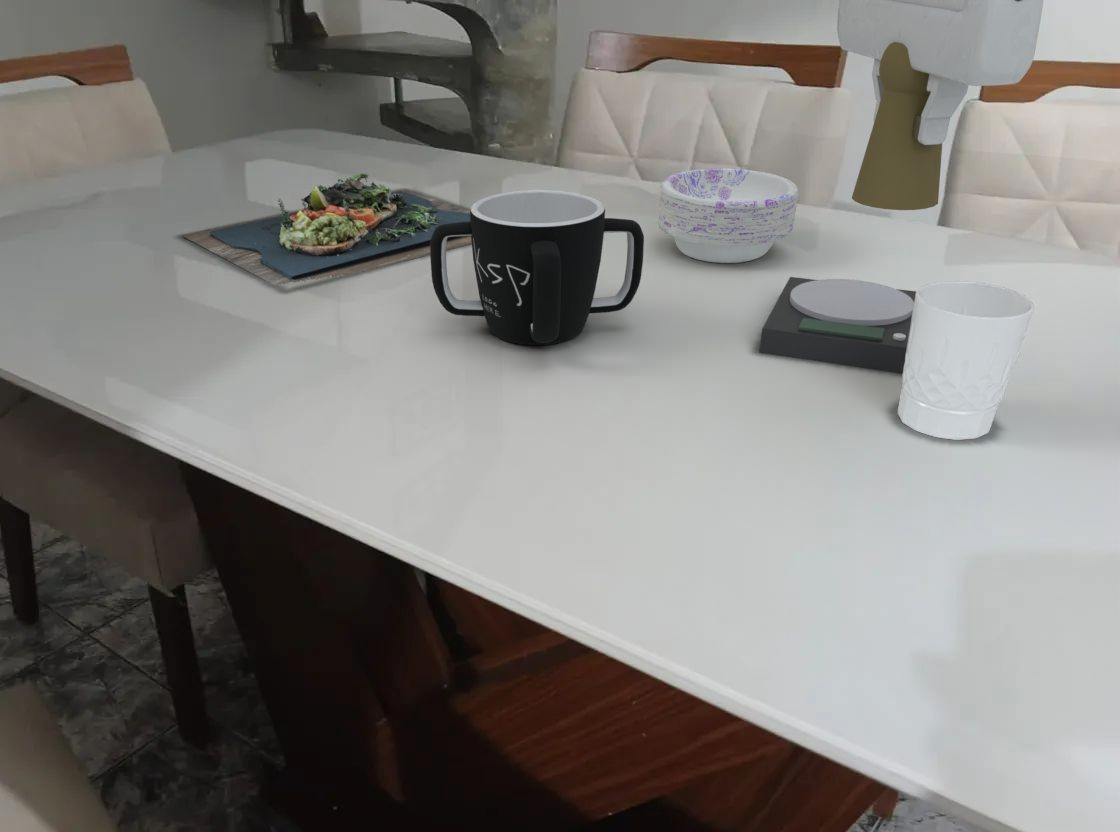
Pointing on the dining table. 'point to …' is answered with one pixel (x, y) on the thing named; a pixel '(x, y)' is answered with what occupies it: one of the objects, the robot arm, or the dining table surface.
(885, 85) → the olive pawn figure
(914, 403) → the white cup
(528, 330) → the mug
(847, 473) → the dining table surface
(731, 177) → the paper bowls
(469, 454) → the dining table surface
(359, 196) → the plated dish
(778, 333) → the kitchen scale
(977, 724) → the dining table surface
